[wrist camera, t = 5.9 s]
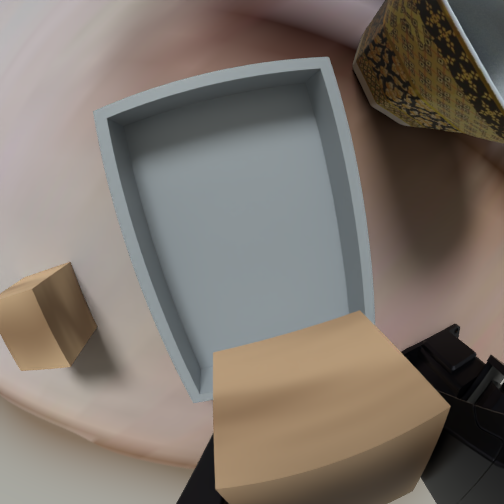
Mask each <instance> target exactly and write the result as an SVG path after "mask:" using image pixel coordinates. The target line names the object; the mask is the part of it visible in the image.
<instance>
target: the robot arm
mask: <svg viewBox="0 0 504 504" xmlns="http://www.w3.org/2000/svg"><path fill="white" fill-rule="evenodd" d="M459 331H460V326H459V325H457V324H453V325H452V326H450V327H448V328H446V329H444V330H443V331H441V332H439V333H437V334H435V335H433V336H431V337H429V338H427V339H425V340H423V341H421V342H419V343H417V344H415V345H413V346H411V347H409V348H407V349H405V350H404V351H403V352H402V354H403V355H404V356H405V357H406V358H407V359H408V360H409V361H410V363H411V364H412V365H413V366H414V367H415V368H416V369H417V370H418V371H419V372H420V373H421V374H422V375H423V376H424V378H425V379H426V380H427V381H428V382H429V383H430V384H431V385H432V386H433V387H434V388H435V390H436V391H437V392H438V393H439V394H440V395H441V396H442V397H443V398H444V399H445V401H446V402H447V403H448V404H449V405H450V406H451V407H450V410H449V413H448V415H447V418H446V421H445V423H444V426H443V429H442V431H441V434H440V436H439V439H438V441H437V443H436V446H435V448H434V450H433V452H432V454H431V457H430V459H429V461H428V463H427V465H426V467H425V469H424V471H423V473H422V475H421V479H422V480H423V482H424V483H425V485H426V487H427V489H428V490H429V492H430V493H431V495H432V497H433V498H434V500H435V502H436V503H437V504H504V383H503V384H502V385H501V384H500V383H501V381H502V380H503V379H504V363H502V362H501V361H499V360H498V359H497V358H495V357H494V356H492V355H490V357H489V358H488V360H487V361H488V362H487V363H486V364H485V363H483V362H482V361H481V360H480V359H479V358H477V357H476V352H474V351H473V350H472V349H471V348H469V347H468V346H467V345H466V344H464V343H463V342H462V341H461V340H459V339H458V337H459ZM176 504H229V503H228V502H227V501H226V500H225V499H224V498H223V497H222V496H221V495H220V494H219V492H218V491H217V490H216V489H215V465H214V433H213V435H212V437H211V439H210V441H209V443H208V445H207V446H206V448H205V450H204V452H203V454H202V456H201V458H200V460H199V462H198V464H197V466H196V468H195V470H194V472H193V473H192V475H191V477H190V479H189V481H188V483H187V485H186V487H185V489H184V490H183V492H182V494H181V496H180V498H179V500H178V501H177V503H176Z"/></svg>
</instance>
